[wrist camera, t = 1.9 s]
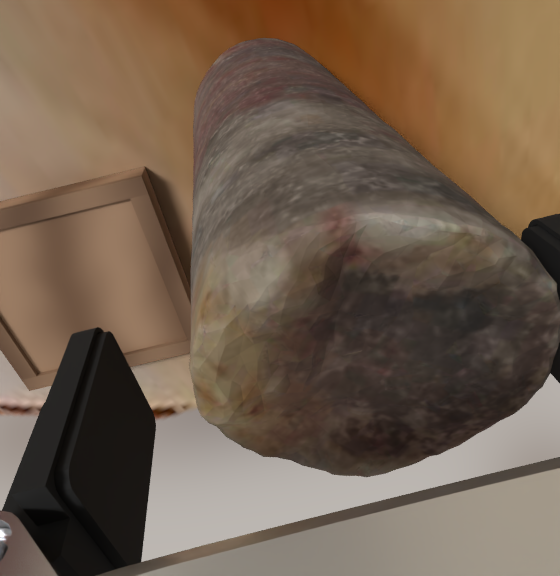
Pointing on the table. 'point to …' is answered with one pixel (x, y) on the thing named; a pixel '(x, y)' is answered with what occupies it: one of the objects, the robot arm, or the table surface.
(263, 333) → the grey brown rough cylinder
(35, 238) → the picture frame
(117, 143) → the table surface
